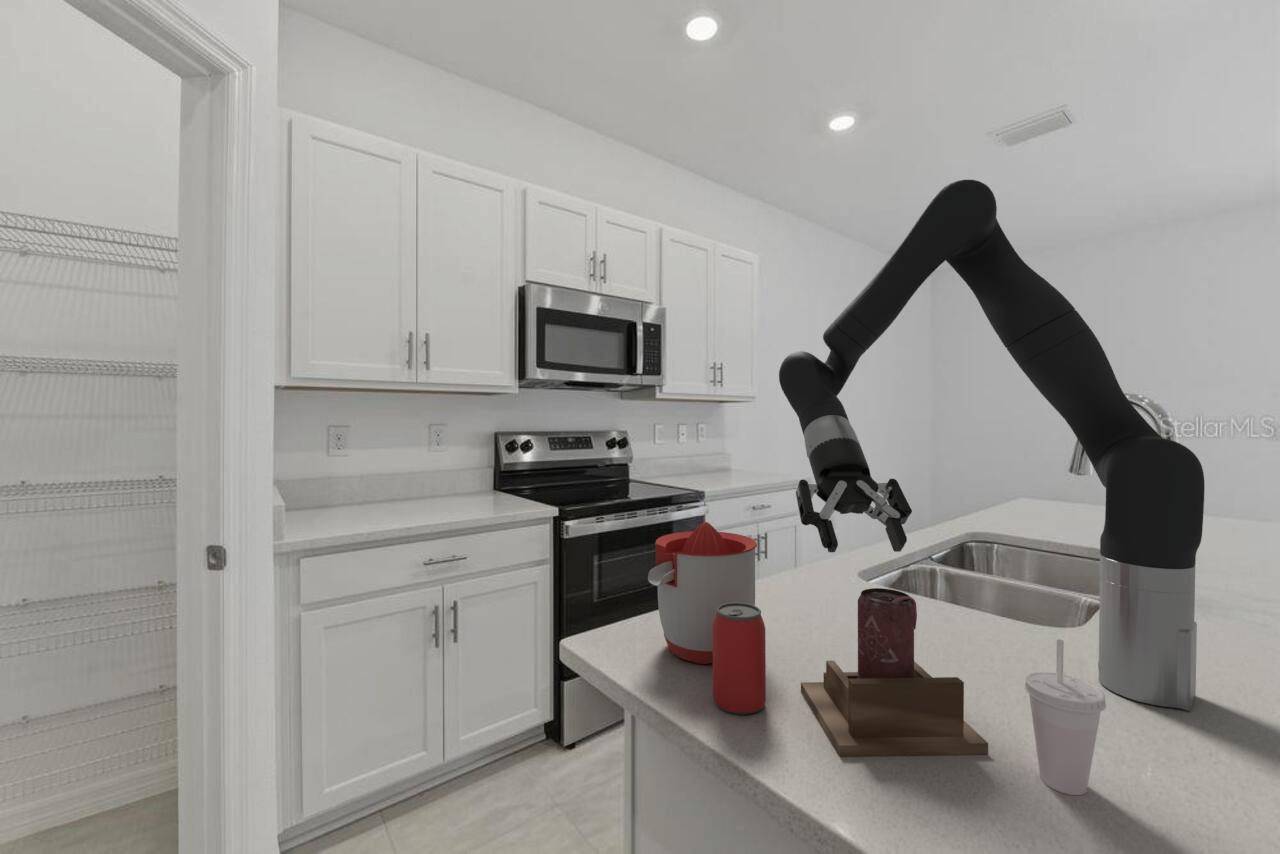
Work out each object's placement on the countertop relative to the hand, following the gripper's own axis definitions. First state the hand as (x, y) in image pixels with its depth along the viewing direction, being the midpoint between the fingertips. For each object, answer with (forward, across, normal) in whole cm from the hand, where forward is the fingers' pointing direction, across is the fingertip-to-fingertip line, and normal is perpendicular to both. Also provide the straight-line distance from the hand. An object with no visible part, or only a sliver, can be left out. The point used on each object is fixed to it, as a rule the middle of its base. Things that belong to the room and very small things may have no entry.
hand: (866, 548), depth 72 cm
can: (+17, 0, +9) cm, 19 cm away
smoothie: (+26, +12, +2) cm, 29 cm away
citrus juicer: (+3, -20, +24) cm, 31 cm away
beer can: (+14, -17, +13) cm, 26 cm away
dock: (+17, 0, +10) cm, 20 cm away
